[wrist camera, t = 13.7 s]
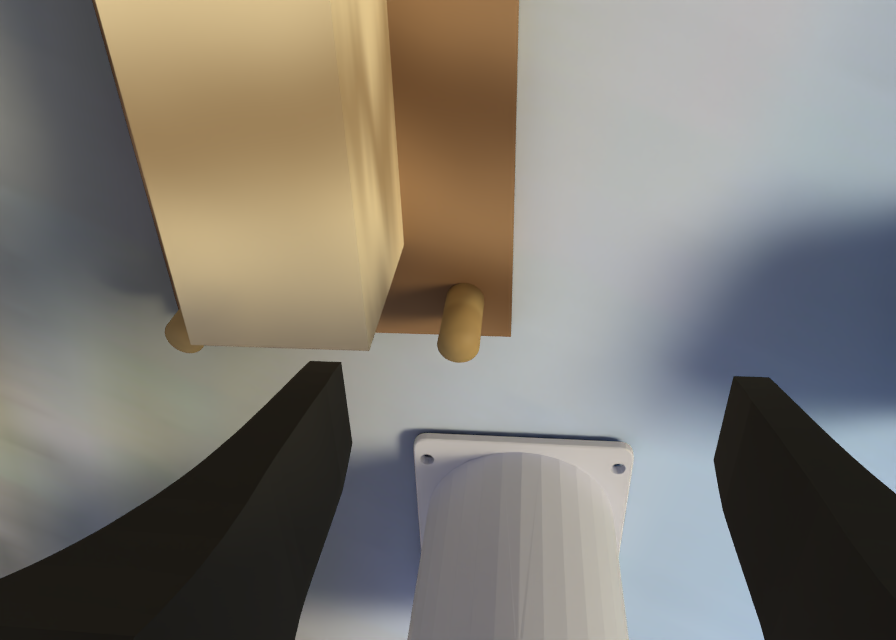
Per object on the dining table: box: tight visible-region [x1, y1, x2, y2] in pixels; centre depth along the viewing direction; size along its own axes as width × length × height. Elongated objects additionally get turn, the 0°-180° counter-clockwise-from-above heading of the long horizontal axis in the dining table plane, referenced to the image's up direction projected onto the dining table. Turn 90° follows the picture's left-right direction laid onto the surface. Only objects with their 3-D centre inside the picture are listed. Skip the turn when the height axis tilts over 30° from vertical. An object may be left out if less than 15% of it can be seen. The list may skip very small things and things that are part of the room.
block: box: [95, 0, 404, 351], centre depth 17 cm, size 10×4×6 cm, turn 2°
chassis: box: [92, 0, 519, 362], centre depth 18 cm, size 16×11×3 cm
